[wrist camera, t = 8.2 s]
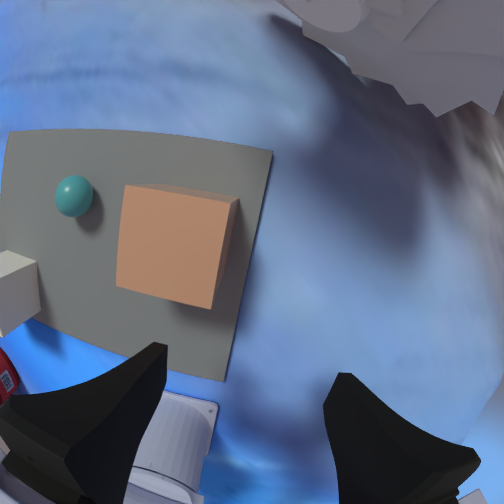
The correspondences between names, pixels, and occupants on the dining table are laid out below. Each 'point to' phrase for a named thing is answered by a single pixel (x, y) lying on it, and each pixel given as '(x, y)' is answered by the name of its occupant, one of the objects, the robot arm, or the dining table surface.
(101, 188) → the mat
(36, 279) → the pale gray cube
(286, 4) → the white bladed rotor
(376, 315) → the dining table surface
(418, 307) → the dining table surface
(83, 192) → the teal ball
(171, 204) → the clay colored cube
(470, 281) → the dining table surface
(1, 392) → the canned food
